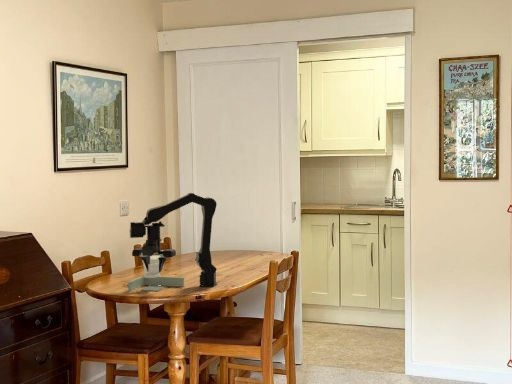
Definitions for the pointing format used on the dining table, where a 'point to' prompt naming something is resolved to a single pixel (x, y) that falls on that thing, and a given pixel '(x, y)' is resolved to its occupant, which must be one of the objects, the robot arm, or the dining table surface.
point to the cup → (151, 262)
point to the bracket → (152, 271)
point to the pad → (153, 288)
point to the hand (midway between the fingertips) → (154, 272)
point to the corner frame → (155, 282)
